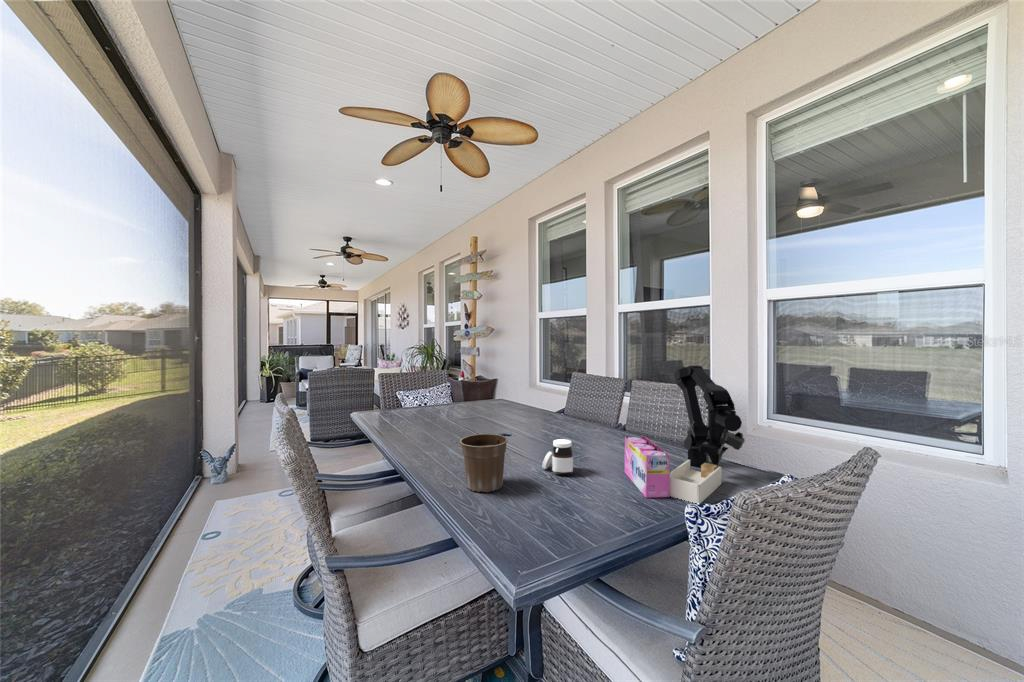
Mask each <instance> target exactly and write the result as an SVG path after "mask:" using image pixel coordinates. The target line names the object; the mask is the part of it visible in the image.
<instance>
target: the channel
mask: <svg viewBox="0 0 1024 682" xmlns="http://www.w3.org/2000/svg"><path fill="white" fill-rule="evenodd" d="M722 469H723V467H722V466H720V465H719V467H718V468H717V469H716V470H715V471H713V472H712V473H711V474H710V475H708V476H707V477H706V478H703V477H701V471H697V470H693V469H691V465H690V460H688V459H687V460H685V461H684V462H683V463H682V464H680V465H678V466H676V467H675V468H674V469H673V470H670V493H669V497H670V496H671V498H674V499H677V498H678V500H681V499H682V501H684V500H685V501H684V502H688V501H689V502H688V503H692V502H693V504H695V503H700V504H702V503H703V502H704V501H705V500H706V499H707V498H708V497H709V496H710V495H711V494H713V492H714V491H716V490H717V489H718V488H719V487H720V486H721V485H722V477H723V475H722V472H723V471H722Z"/></svg>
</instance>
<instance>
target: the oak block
mask: <svg viewBox="0 0 1024 682" xmlns="http://www.w3.org/2000/svg"><path fill="white" fill-rule="evenodd" d="M716 469H717V465H714V464H713V463H709V462H708V463H704V464H702V465H701V467H700V472H701V477H703V478H706V477H707V476H708V475H710V474H711V473H712V472H713V471H715V470H716Z"/></svg>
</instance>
